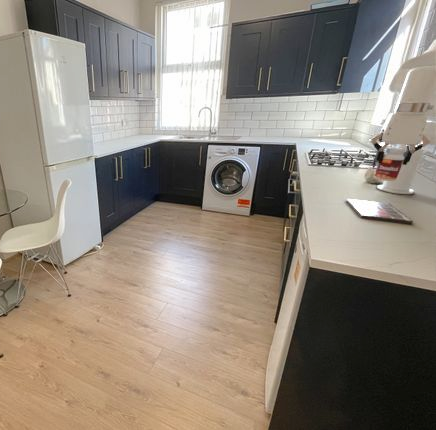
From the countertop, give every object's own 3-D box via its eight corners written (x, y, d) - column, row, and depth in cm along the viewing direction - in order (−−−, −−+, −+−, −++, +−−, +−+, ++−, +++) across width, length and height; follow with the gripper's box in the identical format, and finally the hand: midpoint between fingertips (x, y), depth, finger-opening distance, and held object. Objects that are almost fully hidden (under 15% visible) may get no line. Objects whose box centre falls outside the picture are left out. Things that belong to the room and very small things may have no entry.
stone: (388, 186, 143) (389, 172, 137) (372, 192, 145) (373, 178, 140) (374, 175, 151) (374, 161, 145) (359, 180, 153) (359, 167, 148)
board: (346, 201, 119) (347, 198, 118) (388, 206, 113) (389, 203, 113) (360, 217, 102) (362, 214, 101) (411, 224, 96) (413, 221, 96)
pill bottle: (373, 179, 100) (383, 148, 96) (372, 176, 105) (383, 146, 101) (396, 182, 97) (409, 150, 92) (395, 179, 101) (407, 148, 97)
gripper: (440, 108, 91) (417, 163, 98) (373, 108, 98) (356, 159, 105) (453, 109, 85) (428, 167, 92) (381, 109, 92) (362, 163, 99)
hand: (390, 162), depth 98 cm, fingers closed on pill bottle, 6 cm apart
